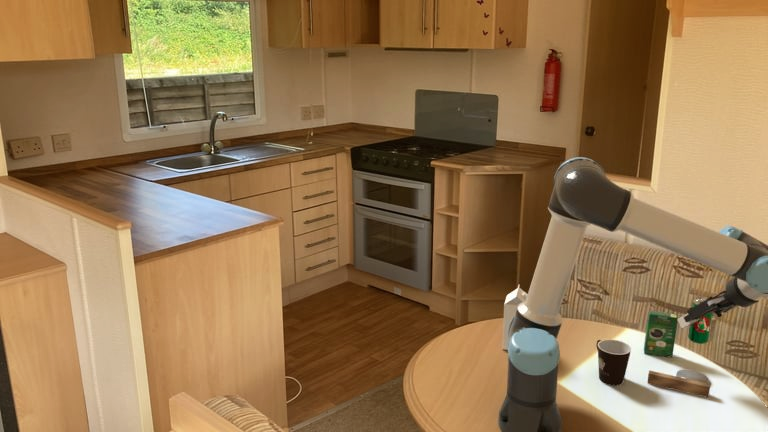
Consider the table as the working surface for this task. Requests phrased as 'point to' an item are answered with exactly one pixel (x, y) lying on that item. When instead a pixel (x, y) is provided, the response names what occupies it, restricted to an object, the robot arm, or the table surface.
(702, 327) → the soda can
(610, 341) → the coffee mug
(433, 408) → the table surface
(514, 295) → the milk carton
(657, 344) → the coffee box
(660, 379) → the rail
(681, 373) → the grey domed button
